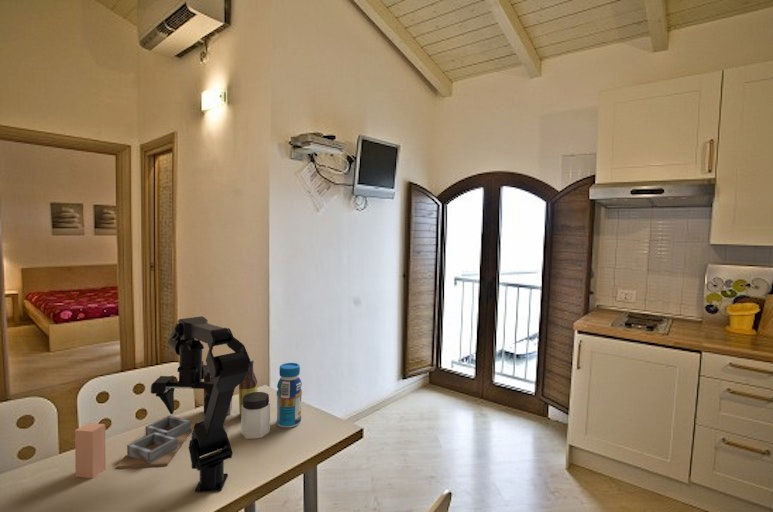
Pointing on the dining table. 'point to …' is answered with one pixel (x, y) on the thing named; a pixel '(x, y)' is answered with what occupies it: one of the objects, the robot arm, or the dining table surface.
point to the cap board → (158, 443)
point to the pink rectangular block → (90, 450)
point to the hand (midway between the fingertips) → (189, 413)
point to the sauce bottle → (247, 385)
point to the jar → (255, 415)
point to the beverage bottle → (289, 396)
